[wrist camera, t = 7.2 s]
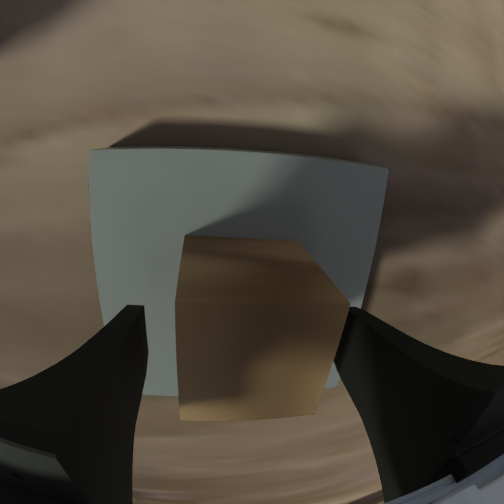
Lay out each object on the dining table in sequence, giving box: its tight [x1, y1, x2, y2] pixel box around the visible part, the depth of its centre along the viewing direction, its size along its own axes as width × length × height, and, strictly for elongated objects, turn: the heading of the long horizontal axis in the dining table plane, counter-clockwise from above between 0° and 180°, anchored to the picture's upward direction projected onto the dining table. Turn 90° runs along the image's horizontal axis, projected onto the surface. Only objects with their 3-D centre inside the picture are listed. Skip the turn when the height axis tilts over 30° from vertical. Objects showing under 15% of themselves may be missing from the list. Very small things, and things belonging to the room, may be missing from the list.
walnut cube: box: [175, 235, 351, 421], centre depth 11 cm, size 4×4×5 cm
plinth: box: [89, 146, 389, 396], centre depth 14 cm, size 12×12×2 cm
